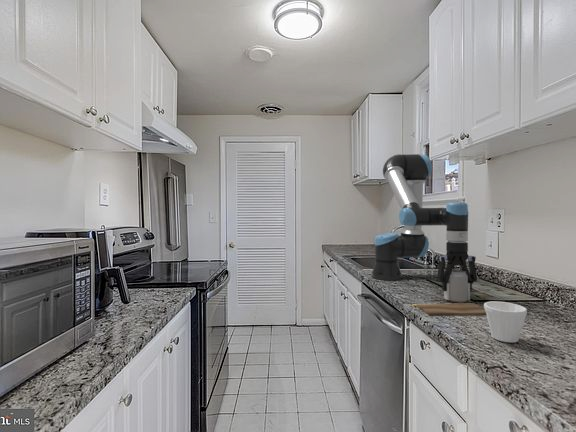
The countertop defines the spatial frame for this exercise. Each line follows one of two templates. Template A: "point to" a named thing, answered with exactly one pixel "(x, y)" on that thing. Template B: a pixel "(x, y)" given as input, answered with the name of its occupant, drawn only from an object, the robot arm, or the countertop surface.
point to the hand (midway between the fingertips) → (456, 298)
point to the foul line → (462, 303)
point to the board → (452, 309)
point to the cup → (505, 320)
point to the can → (458, 286)
